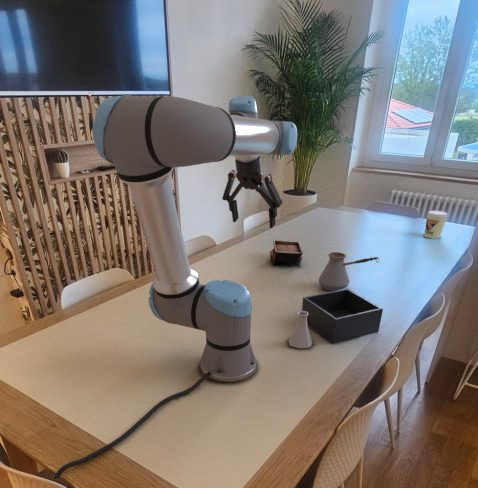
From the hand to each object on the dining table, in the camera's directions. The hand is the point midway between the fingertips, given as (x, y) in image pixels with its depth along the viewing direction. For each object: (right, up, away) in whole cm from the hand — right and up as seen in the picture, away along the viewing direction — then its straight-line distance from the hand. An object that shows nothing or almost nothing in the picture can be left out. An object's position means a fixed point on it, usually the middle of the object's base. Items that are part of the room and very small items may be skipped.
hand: (253, 223), depth 144 cm
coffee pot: (+35, -19, +21) cm, 45 cm away
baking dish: (+16, -2, +47) cm, 50 cm away
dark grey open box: (+27, -34, -4) cm, 44 cm away
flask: (+13, -41, -13) cm, 45 cm away
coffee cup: (+95, +20, +81) cm, 126 cm away
